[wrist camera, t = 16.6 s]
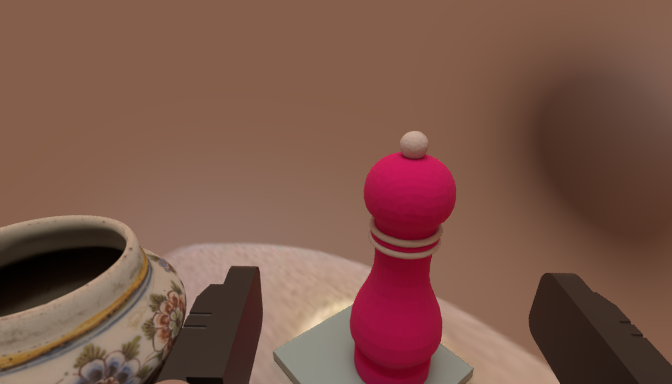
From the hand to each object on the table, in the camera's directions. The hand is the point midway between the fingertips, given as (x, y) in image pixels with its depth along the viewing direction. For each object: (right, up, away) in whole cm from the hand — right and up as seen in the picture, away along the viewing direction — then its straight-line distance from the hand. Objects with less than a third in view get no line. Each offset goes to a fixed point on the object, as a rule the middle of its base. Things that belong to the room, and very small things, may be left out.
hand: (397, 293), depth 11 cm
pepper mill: (+3, -12, +21) cm, 24 cm away
